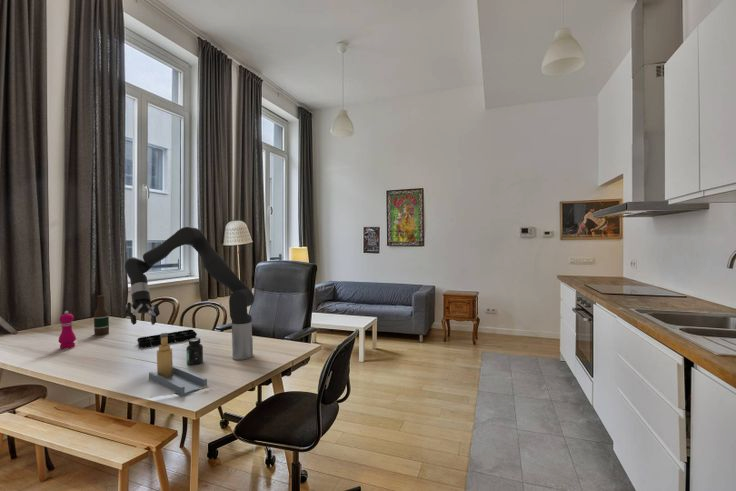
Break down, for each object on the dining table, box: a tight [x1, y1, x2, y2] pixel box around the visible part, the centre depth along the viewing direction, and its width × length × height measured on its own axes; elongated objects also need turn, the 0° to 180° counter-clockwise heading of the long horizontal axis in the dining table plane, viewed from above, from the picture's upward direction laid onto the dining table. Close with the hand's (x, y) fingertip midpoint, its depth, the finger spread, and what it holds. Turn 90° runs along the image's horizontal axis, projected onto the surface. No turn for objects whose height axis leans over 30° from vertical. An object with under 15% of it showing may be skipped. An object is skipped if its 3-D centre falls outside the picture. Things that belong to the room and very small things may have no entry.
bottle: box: [156, 332, 174, 378], centre depth 149 cm, size 6×6×18 cm
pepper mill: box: [58, 310, 77, 350], centre depth 194 cm, size 7×7×20 cm
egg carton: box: [136, 329, 198, 349], centre depth 204 cm, size 18×30×4 cm, turn 141°
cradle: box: [148, 365, 208, 398], centre depth 143 cm, size 26×10×4 cm, turn 55°
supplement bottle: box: [185, 337, 204, 367], centre depth 164 cm, size 7×7×12 cm
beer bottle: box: [93, 294, 110, 336], centre depth 221 cm, size 8×8×24 cm
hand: (144, 323), depth 167 cm, fingers open, 8 cm apart
